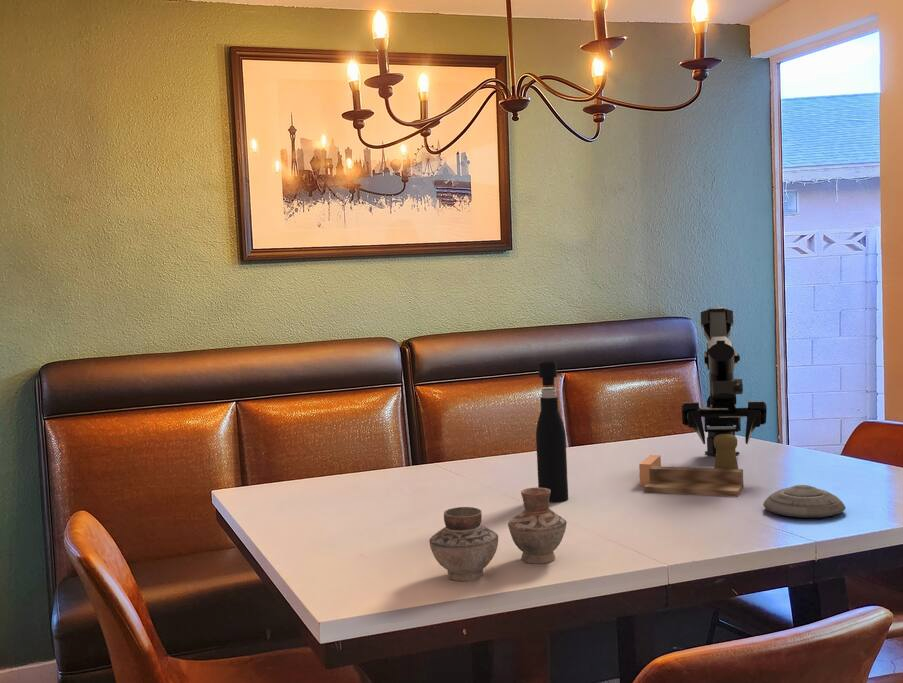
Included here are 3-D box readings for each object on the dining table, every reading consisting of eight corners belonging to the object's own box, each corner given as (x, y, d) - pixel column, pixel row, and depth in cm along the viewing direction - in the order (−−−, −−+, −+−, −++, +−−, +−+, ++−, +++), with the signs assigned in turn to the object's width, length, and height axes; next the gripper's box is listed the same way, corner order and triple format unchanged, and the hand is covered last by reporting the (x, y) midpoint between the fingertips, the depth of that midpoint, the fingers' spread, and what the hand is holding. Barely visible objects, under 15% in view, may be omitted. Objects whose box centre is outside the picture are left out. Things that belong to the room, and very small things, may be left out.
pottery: (581, 561, 153) (578, 491, 152) (453, 592, 141) (449, 516, 140) (542, 546, 163) (539, 480, 162) (419, 574, 150) (415, 503, 150)
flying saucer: (784, 500, 188) (783, 474, 187) (858, 510, 177) (857, 482, 177) (749, 515, 177) (748, 487, 177) (825, 527, 167) (824, 497, 166)
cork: (707, 482, 207) (705, 434, 206) (727, 478, 209) (726, 431, 209) (725, 486, 201) (723, 437, 201) (746, 483, 204) (745, 434, 203)
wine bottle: (533, 498, 200) (527, 362, 198) (559, 494, 202) (553, 360, 200) (547, 504, 194) (541, 364, 192) (573, 500, 196) (567, 361, 194)
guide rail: (748, 479, 207) (747, 457, 207) (738, 496, 192) (737, 473, 191) (650, 475, 216) (649, 454, 216) (633, 491, 201) (632, 469, 201)
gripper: (680, 368, 212) (681, 422, 202) (764, 366, 207) (770, 421, 197) (682, 397, 220) (683, 451, 210) (763, 396, 215) (768, 450, 205)
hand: (725, 442), depth 205 cm, fingers open, 9 cm apart
